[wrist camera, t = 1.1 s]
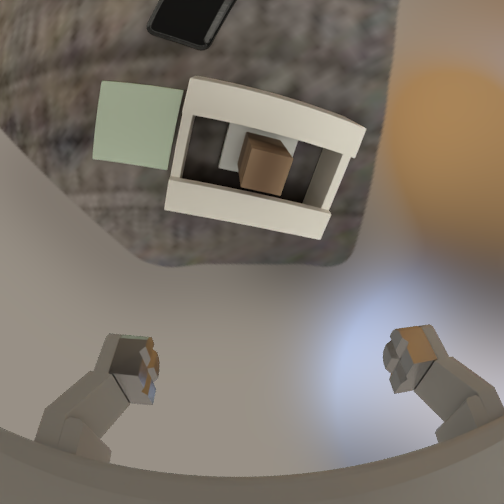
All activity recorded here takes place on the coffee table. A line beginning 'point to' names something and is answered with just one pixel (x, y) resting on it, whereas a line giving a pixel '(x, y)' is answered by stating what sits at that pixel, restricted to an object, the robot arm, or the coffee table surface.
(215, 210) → the slotted box
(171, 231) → the coffee table surface
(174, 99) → the sage mat
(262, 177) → the walnut block
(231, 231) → the coffee table surface
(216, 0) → the phone
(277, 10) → the coffee table surface
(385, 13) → the coffee table surface
